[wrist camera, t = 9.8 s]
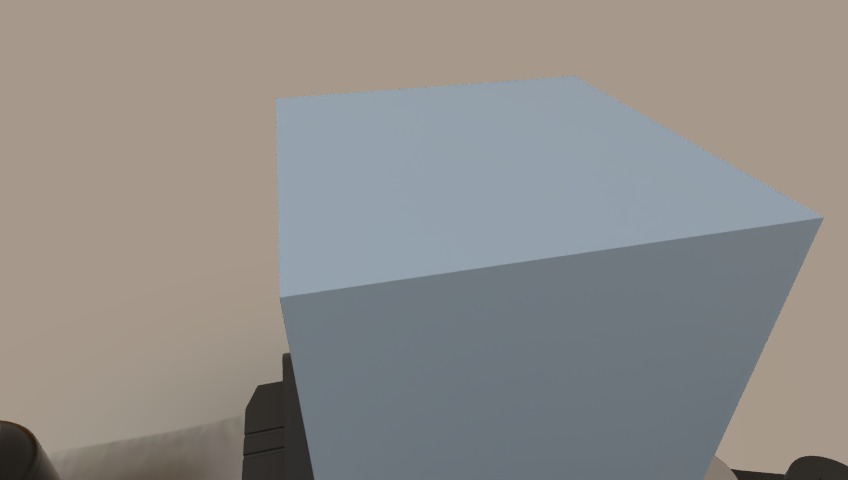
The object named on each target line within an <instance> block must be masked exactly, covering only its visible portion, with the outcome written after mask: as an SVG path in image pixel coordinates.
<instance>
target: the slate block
mask: <svg viewBox="0 0 848 480" xmlns="http://www.w3.org/2000/svg"><path fill="white" fill-rule="evenodd" d="M276 131H277V182H278V183H277V184H278V235H279V236H278V238H279V286H280V287H279V289H280V302H281V307H282V313H283V318H284V323H285V328H286V334H287V339H288V344H289V349H290V354H291V360H292V365H293V370H294V375H295V381H296V386H297V391H298V396H299V401H300V407H301V412H302V417H303V422H304V428H305V433H306V438H307V443H308V449H309V454H310V459H311V464H312V469H313V475H314V480H703V478H704V476H705V474H706V472H707V470H708V467H709V465H710V463H711V461H712V459H713V457H714V454H715V452H716V450H717V448H718V446H719V444H720V441H721V439H722V437H723V435H724V433H725V431H726V428H727V426H728V424H729V422H730V420H731V417H732V415H733V413H734V411H735V409H736V407H737V405H738V402H739V400H740V398H741V396H742V394H743V392H744V389H745V387H746V385H747V383H748V381H749V379H750V376H751V374H752V372H753V370H754V368H755V366H756V363H757V361H758V359H759V357H760V355H761V353H762V350H763V348H764V346H765V344H766V342H767V340H768V337H769V335H770V333H771V331H772V328H773V327H774V324H775V322H776V320H777V318H778V316H779V314H780V311H781V309H782V307H783V305H784V303H785V301H786V298H787V296H788V294H789V292H790V290H791V288H792V285H793V283H794V281H795V279H796V277H797V275H798V272H799V270H800V268H801V266H802V264H803V261H804V259H805V257H806V255H807V253H808V251H809V248H810V246H811V244H812V242H813V240H814V238H815V235H816V233H817V231H818V229H819V227H820V225H821V223H822V220H823V218H824V217H822V216H820V215H819V214H817V213H815V212H813V211H812V210H810V209H808V208H806V207H805V206H803V205H801V204H799V203H798V202H796V201H794V200H792V199H790V198H789V197H787V196H785V195H783V194H782V193H780V192H778V191H776V190H775V189H773V188H771V187H769V186H767V185H766V184H764V183H762V182H761V181H759V180H757V179H755V178H754V177H752V176H750V175H748V174H746V173H745V172H743V171H741V170H739V169H737V168H736V167H734V166H732V165H731V164H729V163H727V162H725V161H723V160H722V159H720V158H718V157H717V156H715V155H713V154H711V153H710V152H708V151H706V150H704V149H702V148H700V147H699V146H697V145H695V144H694V143H692V142H690V141H688V140H687V139H685V138H683V137H681V136H680V135H678V134H676V133H674V132H672V131H671V130H669V129H667V128H665V127H664V126H662V125H660V124H659V123H657V122H655V121H653V120H651V119H650V118H648V117H646V116H644V115H643V114H641V113H639V112H637V111H636V110H634V109H632V108H630V107H628V106H627V105H625V104H623V103H622V102H620V101H618V100H616V99H614V98H613V97H611V96H609V95H607V94H606V93H604V92H602V91H600V90H599V89H596V88H595V87H593V86H591V85H590V84H588V83H586V82H585V81H583V80H581V79H579V78H577V77H576V76H570V77H556V78H542V79H530V80H516V81H503V82H491V83H490V82H489V83H476V84H463V85H449V86H436V87H423V88H410V89H396V90H384V91H370V92H356V93H343V94H330V95H318V96H303V97H290V98H277V99H276Z"/></svg>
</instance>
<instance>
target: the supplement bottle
mask: <svg viewBox="0 0 848 480" xmlns="http://www.w3.org/2000/svg"><path fill="white" fill-rule="evenodd" d="M0 480H61V478H60V477H59V475H58V473H57V472H56V470H55V468H54V467H53V465H52V463H51V462H50V460H49V458H48V456H47V455H46V453H45V451H44V450H43V448H42V446H41V445H40V443H39V442H38V440H37V439H36V437H35V436H34V435H33V433H31V431H29V430H28V429H27V428H25V427H23V426H21V425H19V424H16V423H12V422H8V421H1V420H0Z"/></svg>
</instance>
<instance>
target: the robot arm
mask: <svg viewBox="0 0 848 480" xmlns="http://www.w3.org/2000/svg"><path fill="white" fill-rule="evenodd" d="M282 361H283V381H281V382H275V383H270V384H265V385H259V386H258V387H257V388H256V390H255V392H254V394H253V396H252V398H251V400H250V402H249V404H248V405H247V407H246V412H245V431H244V434H245V439H244V451H243V455H244V460H243V470H242V480H314V475H313V469H312V464H311V459H310V454H309V449H308V443H307V438H306V433H305V428H304V422H303V417H302V412H301V407H300V401H299V396H298V391H297V386H296V381H295V375H294V370H293V365H292V360H291V354H290V353H285V354H283V360H282ZM703 480H848V466H846V465H844V464H842V463H839V462H837V461H835V460H831V459H828V458H824V457H819V456H805V457H801V458H798V459H797V460H795V461H794V462H793V463H792V464H791V466H790V467H789V469H788V471H787V472H786V474H785V475H783V474H773V473H762V472H751V471H740V470H734V469H730V468H729V467H728V466H727V465H726V464H725V463H724V462H723V461H721V460H720V459H719V458H717V457H716V456H714V457H713V459H712V461H711V463H710V465H709V467H708V470H707V472H706V474H705V476H704V478H703Z"/></svg>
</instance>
